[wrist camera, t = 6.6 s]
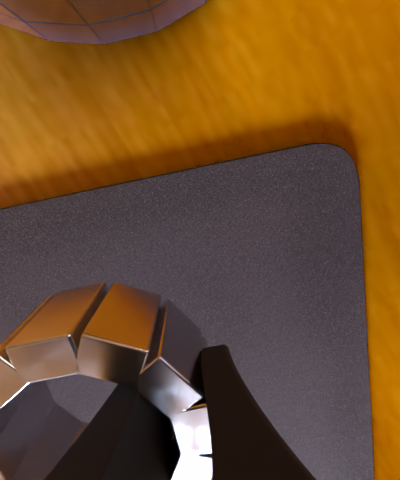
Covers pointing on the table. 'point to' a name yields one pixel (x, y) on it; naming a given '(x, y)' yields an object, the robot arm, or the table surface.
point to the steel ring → (101, 375)
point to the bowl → (92, 18)
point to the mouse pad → (225, 283)
